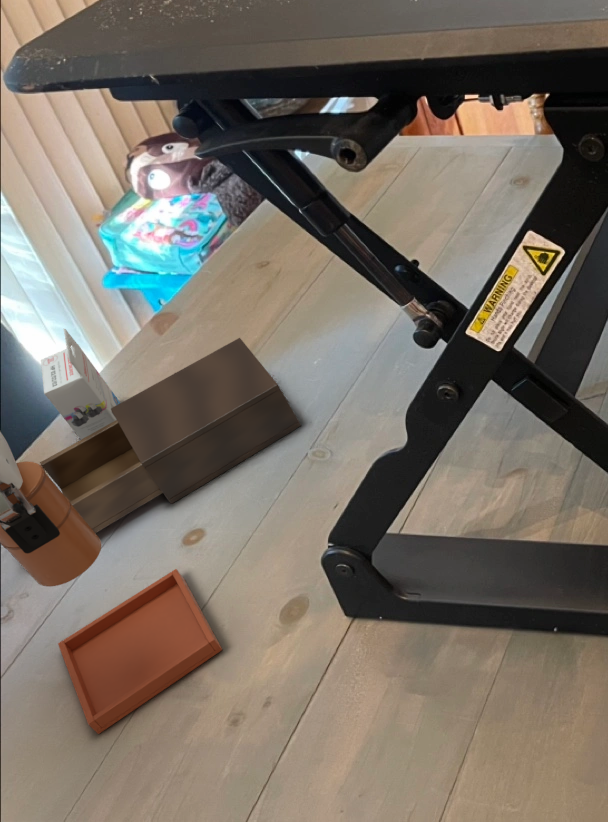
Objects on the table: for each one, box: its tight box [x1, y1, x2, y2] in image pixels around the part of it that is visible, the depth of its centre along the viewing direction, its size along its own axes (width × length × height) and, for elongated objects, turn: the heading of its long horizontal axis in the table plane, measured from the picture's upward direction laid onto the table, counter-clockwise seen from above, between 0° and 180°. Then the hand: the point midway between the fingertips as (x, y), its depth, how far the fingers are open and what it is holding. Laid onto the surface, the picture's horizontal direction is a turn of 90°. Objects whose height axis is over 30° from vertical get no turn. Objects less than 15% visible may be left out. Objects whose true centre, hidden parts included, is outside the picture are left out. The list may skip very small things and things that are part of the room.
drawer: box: [39, 420, 163, 533], centre depth 131 cm, size 21×13×6 cm, turn 130°
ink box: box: [40, 328, 121, 440], centre depth 141 cm, size 8×5×15 cm, turn 31°
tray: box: [57, 568, 223, 735], centre depth 114 cm, size 13×13×2 cm
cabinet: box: [111, 337, 302, 504], centre depth 138 cm, size 18×14×8 cm
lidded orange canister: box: [0, 461, 102, 588], centre depth 102 cm, size 7×7×11 cm
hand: (34, 521), depth 102 cm, fingers closed on lidded orange canister, 6 cm apart
